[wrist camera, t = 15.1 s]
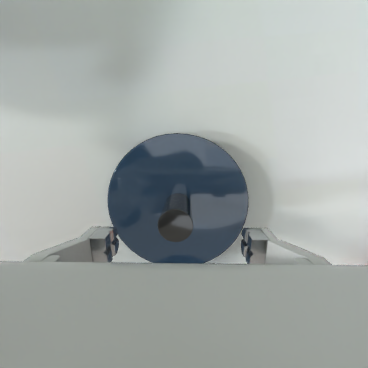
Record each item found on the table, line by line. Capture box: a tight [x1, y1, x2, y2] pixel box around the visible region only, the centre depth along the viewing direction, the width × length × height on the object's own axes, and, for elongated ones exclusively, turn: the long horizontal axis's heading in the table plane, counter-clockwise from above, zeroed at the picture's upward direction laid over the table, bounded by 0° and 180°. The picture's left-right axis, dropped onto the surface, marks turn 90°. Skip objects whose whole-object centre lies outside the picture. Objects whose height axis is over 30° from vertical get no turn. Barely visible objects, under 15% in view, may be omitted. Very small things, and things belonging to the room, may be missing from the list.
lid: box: [108, 133, 248, 264], centre depth 16 cm, size 13×13×5 cm
